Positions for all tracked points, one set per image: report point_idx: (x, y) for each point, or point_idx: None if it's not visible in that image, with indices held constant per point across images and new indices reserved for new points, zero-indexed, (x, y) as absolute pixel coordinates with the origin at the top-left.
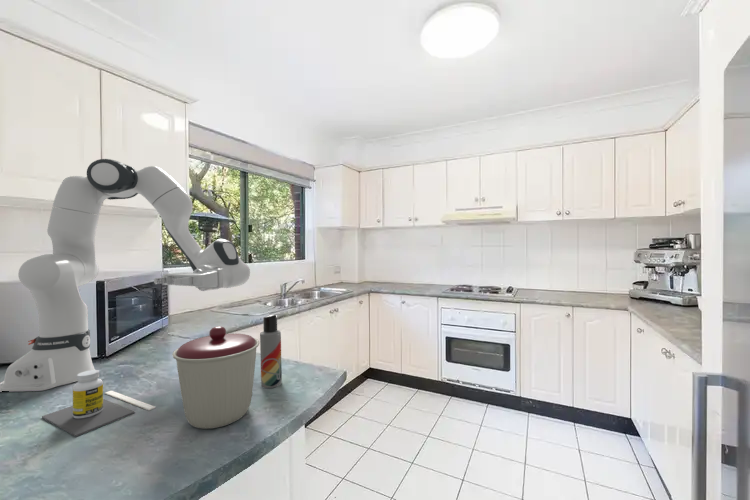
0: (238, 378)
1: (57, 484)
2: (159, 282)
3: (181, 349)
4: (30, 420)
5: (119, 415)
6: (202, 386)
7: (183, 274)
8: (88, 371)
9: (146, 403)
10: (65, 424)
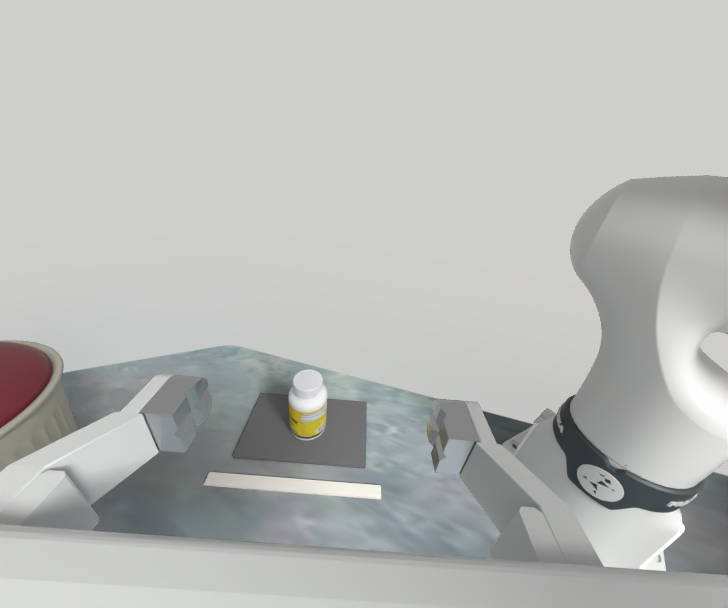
0: None
1: (195, 356)
2: (433, 437)
3: (23, 346)
4: (371, 396)
5: (248, 438)
6: None
7: (200, 562)
8: (314, 382)
9: (236, 486)
10: None
